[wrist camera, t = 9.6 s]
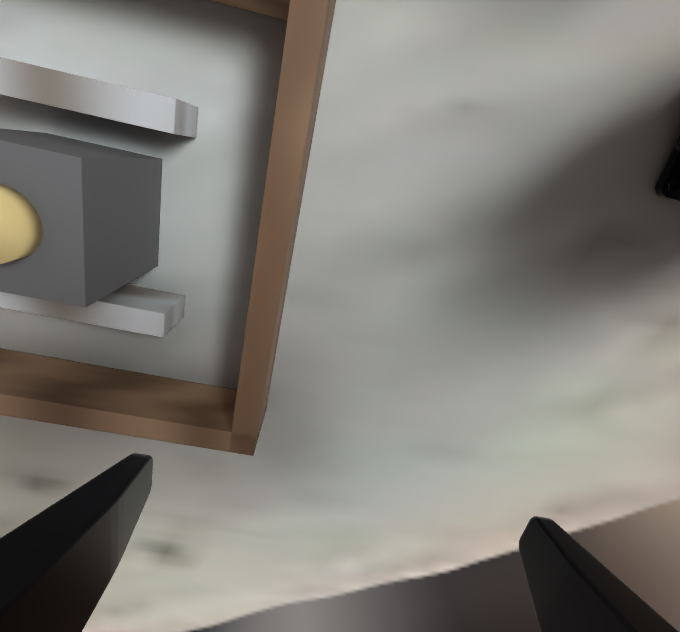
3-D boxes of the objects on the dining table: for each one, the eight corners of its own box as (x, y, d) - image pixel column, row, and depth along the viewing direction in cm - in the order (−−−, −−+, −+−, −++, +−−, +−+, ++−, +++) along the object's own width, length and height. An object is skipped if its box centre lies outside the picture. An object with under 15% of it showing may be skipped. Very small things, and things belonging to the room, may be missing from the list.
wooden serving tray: (336, -5, 15) (336, -50, 12) (265, 413, 22) (253, 455, 19) (-163, -139, 14) (-319, -232, 10) (-67, 356, 21) (-142, 392, 18)
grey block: (162, 159, 17) (64, 157, 11) (158, 265, 19) (71, 316, 13) (46, 133, 17) (-125, 116, 11) (53, 244, 19) (-90, 286, 12)
